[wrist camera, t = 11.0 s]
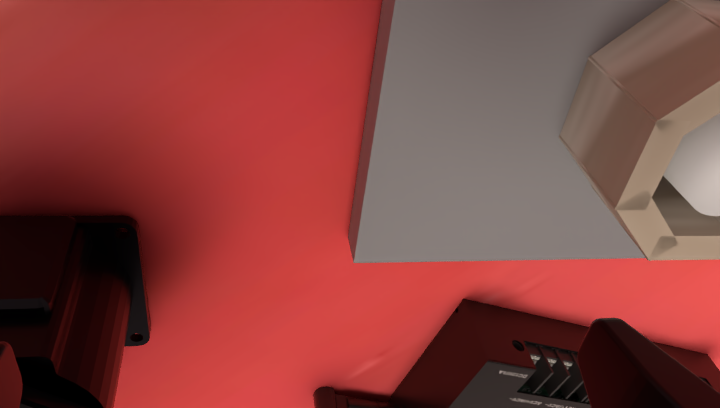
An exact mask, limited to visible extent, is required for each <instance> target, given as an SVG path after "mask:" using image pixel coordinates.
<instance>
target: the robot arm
mask: <svg viewBox="0 0 720 408" xmlns="http://www.w3.org/2000/svg"><path fill="white" fill-rule="evenodd" d="M119 228H124V229H127V230H128V231H127V232H122V231H119V230H118V229H119ZM150 331H151V328H150V319H149V311H148V302H147V294H146V285H145V277H144V268H143V260H142V251H141V242H140V234H139V226H138V223H137V222H136V221H135V220H134V219H133V218H131V217H129V216H0V408H113V407H114V401H115V396H116V390H117V384H118V379H119V373H120V368H121V362H122V356H123V351H124V346H140V345H144V344H146V343H147V342H148V341H149V338H150ZM135 333H137V334H135ZM577 359H578V365H579V368H580V372H581V375H582V378H583V382H584V385H585V389H586V392H587V395H588V399H589V402H590V405H591V408H720V393H719V392H718V391H716V390H715V389H714V388H712V387H711V386H710V385H708V384H707V383H706V382H704V381H703V380H702V379H700V378H699V377H698V376H696V375H695V374H694V373H692V372H691V371H690V370H688V369H687V368H686V367H684V366H683V365H682V364H680V363H679V362H678V361H676V360H675V359H674V358H672V357H671V356H670V355H668V354H667V353H666V352H664V351H663V350H662V349H660V348H659V347H658V346H656V345H655V344H654V343H652V342H651V341H650V340H648V339H647V338H646V337H644V336H643V335H642V334H640V333H639V332H638V331H636V330H635V329H634V328H632V327H631V326H630V325H628V324H627V323H626V322H624V321H623V320H621V319H618V318H600V319H596V320H595V321H593V322H592V324H591V326H590V328H589V330H588V332H587V334H586V335H585V337H584V339H583V341H582V343H581V345H580V347H579V350H578V358H577Z"/></svg>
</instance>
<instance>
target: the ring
mask: <svg viewBox="0 0 720 408" xmlns="http://www.w3.org/2000/svg"><path fill="white" fill-rule="evenodd" d="M719 113H720V1H715V0H670V1H668V2H667V3H665V4H664V5H663V6H661V7H660V8H658V9H657V10H655V11H654V12H653V13H651V14H650V15H648V16H647V17H645V18H644V19H643V20H641V21H640V22H638V23H637V24H636V25H634V26H633V27H631V28H630V29H628V30H627V31H626V32H624V33H623V34H621V35H620V36H618V37H617V38H616V39H614V40H613V41H611V42H610V43H608V44H607V45H606V46H604V47H603V48H601V49H600V50H598V51H597V52H596V53H594V54H593V55H591V56H589V57H588V61H587V64H586V66H585V69H584V72H583V74H582V77H581V80H580V83H579V85H578V88H577V91H576V93H575V96H574V99H573V101H572V104H571V107H570V109H569V112H568V115H567V117H566V120H565V123H564V125H563V128H562V131H561V133H560V135H559V139H560V140H561V142H562V143H563V144H564V145H565V147H566V148H567V149H568V151H569V152H570V154H571V155H572V157H573V158H574V160H575V161H576V163H577V164H578V166H579V167H580V169H581V170H582V172H583V173H584V175H585V176H586V178H587V179H588V181H589V182H590V184H591V187H592V188H593V190H594V191H595V192H596V193H597V195H598V196H599V197H600V199H601V200H602V201H603V203H604V204H605V205H606V206H607V208H608V209H609V210H610V212H611V213H612V214H613V216H614V217H615V218H616V220H617V221H618V222H619V223H620V225H621V226H622V227H623V229H624V230H625V231H626V233H627V234H628V235H629V236H630V238H631V239H632V240H633V242H634V243H635V244H636V246H637V247H638V248H639V250H640V251H641V252H642V253H643V255H644V256H645V257H646V259H647V260H649V261H651V260H709V259H720V216H709V215H705V214H702V213H700V212H698V211H697V210H695V209H694V208H693V207H692V206H691V205H690V203H689V202H688V201H687V200H686V199H685V198H684V197H683V196H682V195H681V194H680V193H679V192H678V191H677V190H676V189H675V188H674V187H673V185H672V184H671V183H670V182H669V181H668V180H667V179H666V178H665V177H664V176H663V175H664V173H665V171H666V169H667V167H668V165H669V163H670V161H671V159H672V157H673V155H674V153H675V151H676V149H677V147H678V145H679V143H680V141H681V139H682V138H683V136H684V135H686V134H687V133H689V132H691V131H692V130H694V129H695V128H697V127H698V126H700V125H702V124H703V123H705V122H706V121H708V120H710V119H711V118H713V117H714V116H716V115H717V114H719Z"/></svg>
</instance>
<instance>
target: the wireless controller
mask: <svg viewBox="0 0 720 408" xmlns="http://www.w3.org/2000/svg"><path fill="white" fill-rule="evenodd" d="M589 328H590V327H585V326H581V325H577V324H572V323H568V322H564V321H559V320H555V319H550V318H546V317H542V316H537V315H533V314H529V313H524V312H520V311H515V310H511V309H507V308H502V307H498V306H494V305H489V304H485V303H480V302H476V301H472V300H467V299H463V300H462V301H461V303H460V304H459V306H458V307H457V308H456V310H455V311H454V312H453V314H452V315H451V316H450V318H449V319H448V320H447V322H446V323H445V324H444V326H443V327H442V328H441V330H440V331H439V332H438V334H437V335H436V336H435V338H434V339H433V340H432V342H431V343H430V345H429V346H428V347H427V349H426V350H425V351H424V353H423V354H422V355H421V357H420V358H419V359H418V361H417V362H416V363H415V365H414V366H413V367H412V369H411V370H410V371H409V373H408V374H407V375H406V377H405V378H404V379H403V381H402V382H401V384H400V385H399V386H398V388H397V389H396V390H395V392H394V393H393V394H392V396H391V399H390V401H389V402H388V403H387V402H380V401H373V400H366V399H359V398H352V397H347V396H343V395H336V394H335V392H334V389H333V388H332V387H320V388H318V389H317V390H316V391H315V392H314V394H313V396H314V405H315V408H591V405H590V402H589V399H588V395H587V392H586V389H585V385H584V382H583V378H582V375H581V372H580V368H579V365H578V359H577V358H578V350H579V347H580V345H581V343H582V341H583V339H584V337H585V335H586V334H587V332H588V330H589ZM652 343H654V344H655V345H656V346H658V347H659V348H660V349H662V350H663V351H664V352H666V353H667V354H668V355H670V356H671V357H672V358H674V359H675V360H676V361H678V362H679V363H680V364H682V365H683V366H684V367H686V368H687V369H688V370H690V371H691V372H692V373H694V374H695V375H696V376H698V377H699V378H700V379H702V380H703V381H704V382H706V383H707V384H708V385H710V386H711V387H712V388H714V389H715V390H716V391H718V392H719V393H720V371H719V369H718V368H717V367H716V365H715V364H714V363H713V361H712V360H711V359H710V357H709V356H708V355H707V354H703V353H699V352H695V351H690V350H686V349H682V348H677V347H673V346H668V345H664V344H660V343H655V342H652Z"/></svg>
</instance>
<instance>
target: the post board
mask: <svg viewBox="0 0 720 408" xmlns="http://www.w3.org/2000/svg"><path fill="white" fill-rule="evenodd" d="M668 1H670V0H382V7H381V14H380V21H379V28H378V35H377V41H376V48H375V55H374V62H373V69H372V76H371V83H370V89H369V96H368V103H367V110H366V117H365V124H364V131H363V137H362V144H361V151H360V158H359V165H358V172H357V179H356V185H355V192H354V199H353V206H352V213H351V220H350V226H349V233H348V239H349V244H350V249H351V253H352V258H353V262H354V263H379V262H438V261H497V260H556V259H616V258H646V257H645V256H644V255H643V253H642V252H641V251H640V250H639V248H638V247H637V246H636V244H635V243H634V242H633V240H632V239H631V238H630V236H629V235H628V234H627V233H626V231H625V230H624V229H623V227H622V226H621V225H620V223H619V222H618V221H617V220H616V218H615V217H614V216H613V214H612V213H611V212H610V210H609V209H608V208H607V206H606V205H605V204H604V203H603V201H602V200H601V199H600V197H599V196H598V195H597V193H596V192H595V191H594V190H593V188H592V187H591V184H590V182H589V181H588V179H587V178H586V176H585V175H584V173H583V172H582V170H581V169H580V167H579V166H578V164H577V163H576V161H575V160H574V158H573V157H572V155H571V154H570V152H569V151H568V149H567V148H566V147H565V145H564V144H563V143H562V142H561V140H560V139H559V135H560V133H561V131H562V128H563V125H564V123H565V120H566V117H567V115H568V112H569V109H570V107H571V104H572V101H573V99H574V96H575V93H576V91H577V88H578V85H579V83H580V80H581V77H582V74H583V72H584V69H585V66H586V64H587V61H588V57H589V56H591V55H593V54H594V53H596V52H597V51H598V50H600V49H601V48H603V47H604V46H606V45H607V44H608V43H610V42H611V41H613V40H614V39H616V38H617V37H618V36H620V35H621V34H623V33H624V32H626V31H627V30H628V29H630V28H631V27H633V26H634V25H636V24H637V23H638V22H640V21H641V20H643V19H644V18H645V17H647V16H648V15H650V14H651V13H653V12H654V11H655V10H657V9H658V8H660V7H661V6H663V5H664V4H665V3H667V2H668ZM715 1H720V0H715ZM663 176H664V177H665V178H666V179H667V180H668V181H669V182H670V183H671V184H672V185H673V187H674V188H675V189H676V190H677V191H678V192H679V193H680V194H681V195H682V196H683V197H684V198H685V199H686V200H687V201H688V202H689V203H690V205H691V206H692V207H693V208H694V209H695V210H697V211H698V212H700V213H702V214H705V215H709V216H720V113H719V114H717V115H716V116H714V117H713V118H711V119H710V120H708V121H706V122H705V123H703V124H702V125H700V126H698V127H697V128H695V129H694V130H692V131H691V132H689V133H687V134H686V135H684V136H683V138H682V139H681V141H680V143H679V145H678V147H677V149H676V151H675V153H674V155H673V157H672V159H671V161H670V163H669V165H668V167H667V169H666V171H665V173H664V175H663Z"/></svg>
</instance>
